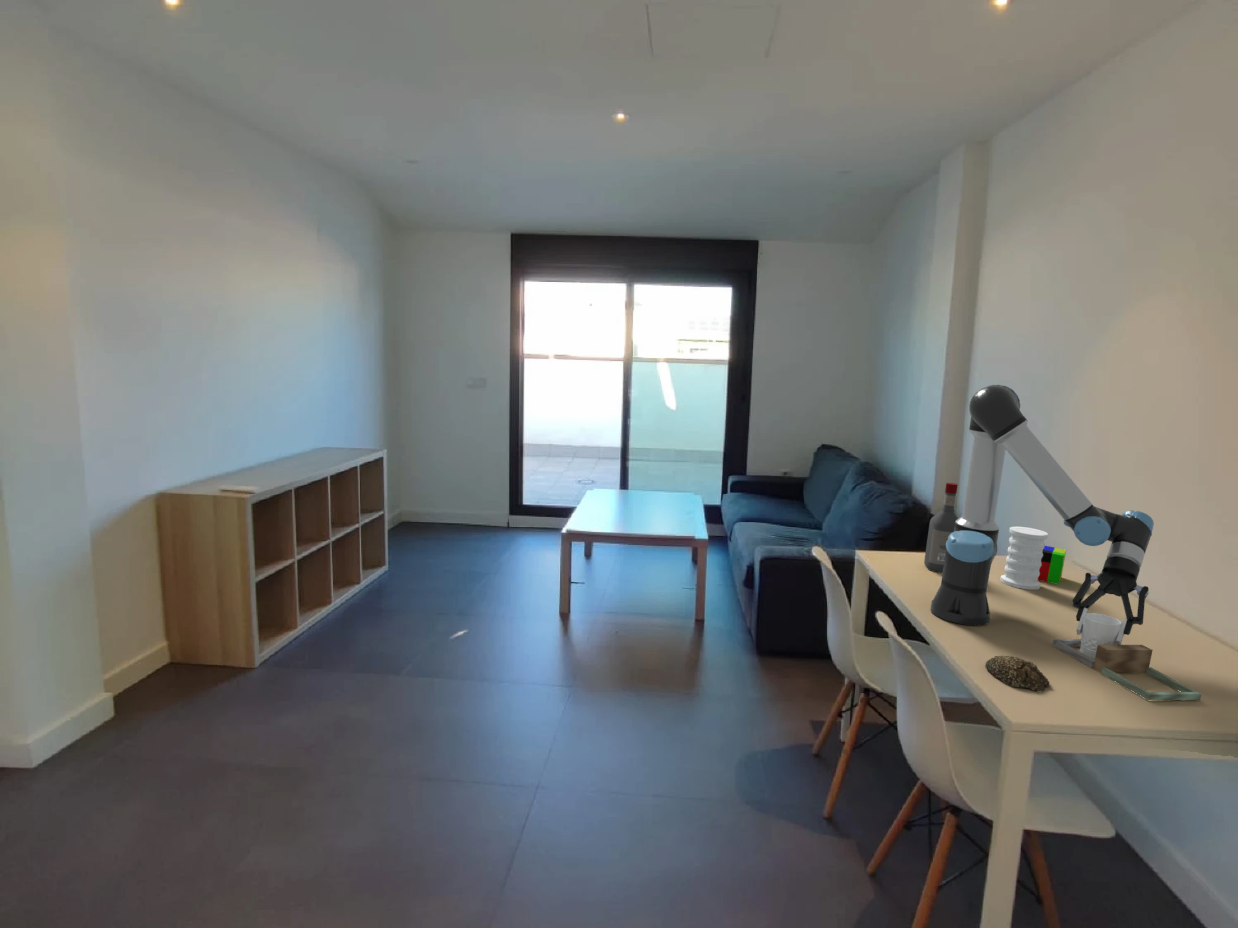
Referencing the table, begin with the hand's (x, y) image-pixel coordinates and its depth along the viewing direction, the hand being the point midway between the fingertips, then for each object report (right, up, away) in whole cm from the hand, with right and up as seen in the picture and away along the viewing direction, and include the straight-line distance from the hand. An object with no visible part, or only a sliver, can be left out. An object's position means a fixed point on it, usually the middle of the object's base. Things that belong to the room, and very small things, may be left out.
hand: (1098, 637), depth 177 cm
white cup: (+1, -5, +2) cm, 6 cm away
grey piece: (+2, -7, -5) cm, 9 cm away
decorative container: (+13, +3, +58) cm, 60 cm away
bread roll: (-27, -7, -13) cm, 30 cm away
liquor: (-8, +7, +69) cm, 70 cm away
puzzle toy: (+26, +4, +67) cm, 72 cm away
